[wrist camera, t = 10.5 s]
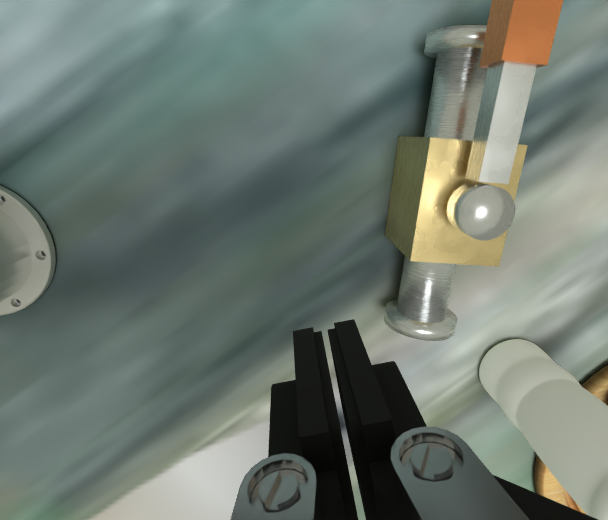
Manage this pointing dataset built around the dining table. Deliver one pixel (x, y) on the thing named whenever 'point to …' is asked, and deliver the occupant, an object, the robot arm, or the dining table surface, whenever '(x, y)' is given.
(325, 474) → the robot arm
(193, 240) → the dining table surface
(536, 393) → the water bottle
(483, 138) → the valve lever
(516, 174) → the valve pipe
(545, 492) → the wooden plate with food
